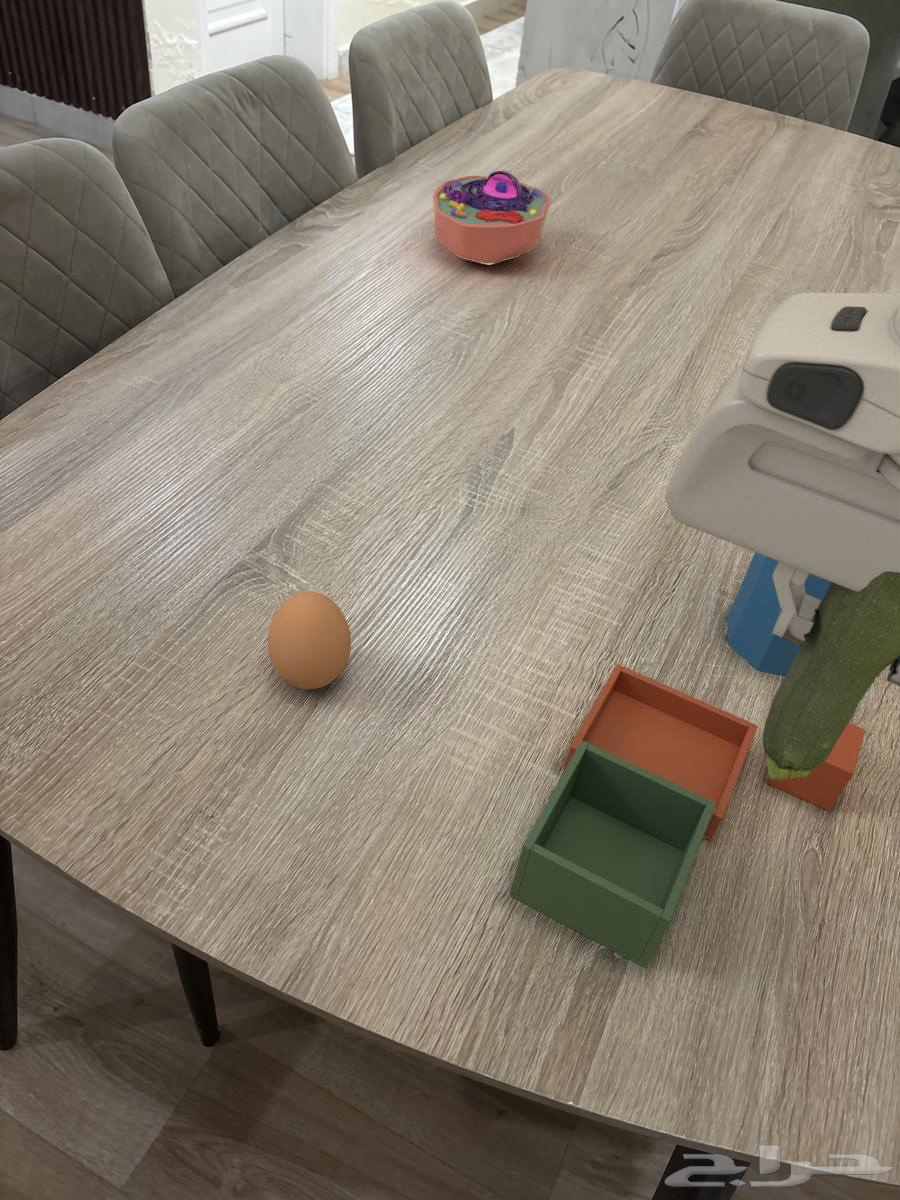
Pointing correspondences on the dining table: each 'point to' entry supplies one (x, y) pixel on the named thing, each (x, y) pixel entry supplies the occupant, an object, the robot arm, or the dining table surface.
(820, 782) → the terracotta block
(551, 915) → the produce bin
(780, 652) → the water bottle
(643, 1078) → the dining table surface
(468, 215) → the cell model
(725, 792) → the terracotta tray
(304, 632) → the egg
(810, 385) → the robot arm
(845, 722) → the vegetable
